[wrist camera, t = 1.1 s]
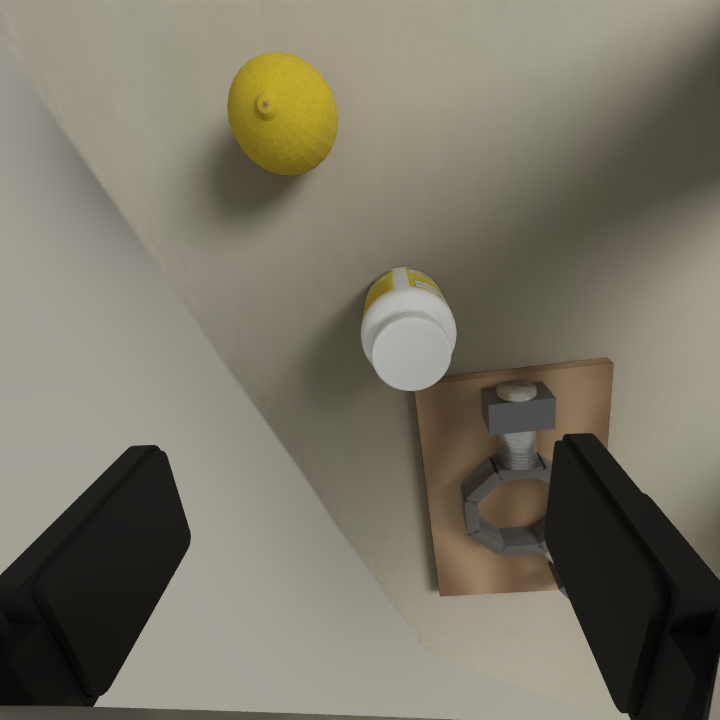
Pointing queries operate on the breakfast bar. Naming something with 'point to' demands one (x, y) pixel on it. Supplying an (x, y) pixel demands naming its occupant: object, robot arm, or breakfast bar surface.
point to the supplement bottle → (407, 329)
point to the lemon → (282, 113)
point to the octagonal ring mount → (499, 476)
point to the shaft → (518, 419)
